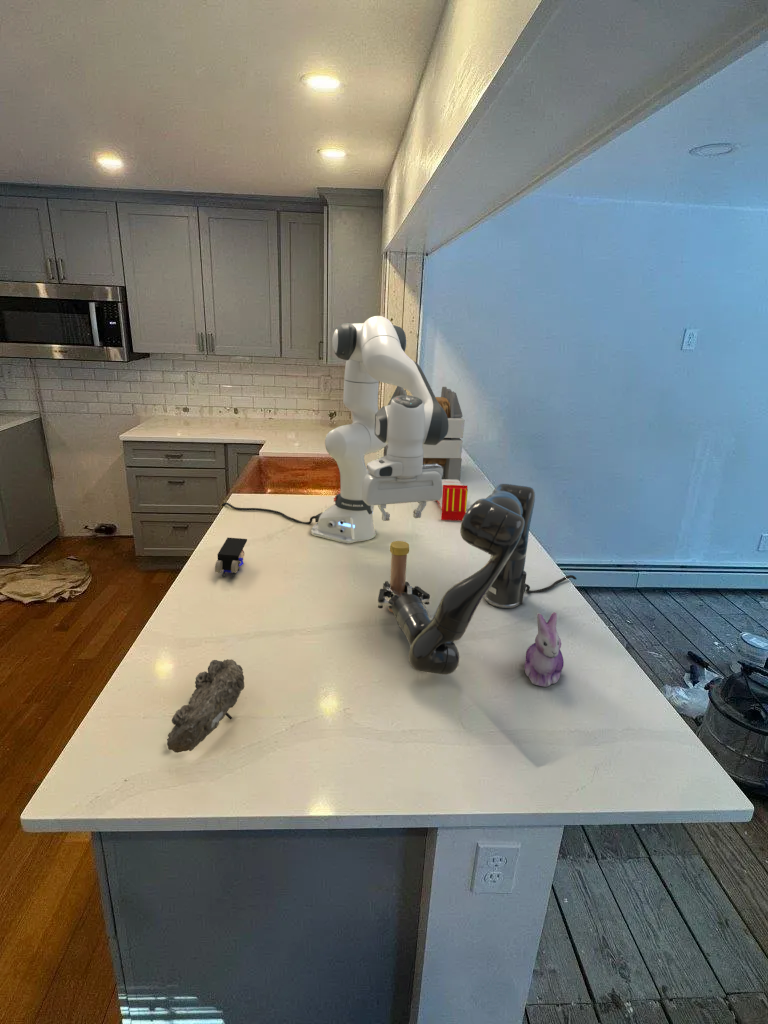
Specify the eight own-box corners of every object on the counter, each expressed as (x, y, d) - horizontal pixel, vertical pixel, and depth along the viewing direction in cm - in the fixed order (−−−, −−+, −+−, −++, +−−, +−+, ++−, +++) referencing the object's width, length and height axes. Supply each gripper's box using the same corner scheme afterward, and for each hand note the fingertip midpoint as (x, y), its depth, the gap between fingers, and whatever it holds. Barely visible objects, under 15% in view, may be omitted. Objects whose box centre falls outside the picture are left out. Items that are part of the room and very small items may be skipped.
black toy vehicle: (238, 584, 162) (249, 557, 175) (236, 562, 158) (247, 536, 172) (215, 584, 161) (227, 556, 175) (212, 561, 158) (225, 535, 171)
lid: (400, 557, 141) (400, 550, 140) (385, 551, 144) (386, 544, 143) (412, 552, 144) (413, 544, 144) (398, 546, 147) (398, 539, 147)
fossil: (192, 660, 117) (244, 628, 112) (224, 691, 120) (276, 661, 115) (142, 746, 98) (202, 712, 93) (182, 779, 101) (242, 748, 96)
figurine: (543, 694, 119) (553, 631, 114) (511, 667, 127) (519, 608, 122) (576, 682, 123) (587, 622, 118) (543, 657, 131) (552, 600, 126)
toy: (459, 475, 239) (472, 486, 210) (457, 506, 242) (469, 522, 212) (430, 474, 239) (439, 485, 209) (429, 505, 241) (437, 521, 212)
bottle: (396, 614, 147) (400, 550, 141) (385, 609, 150) (388, 545, 143) (406, 609, 150) (410, 546, 144) (395, 604, 152) (399, 541, 146)
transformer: (382, 463, 289) (386, 382, 275) (445, 464, 293) (451, 384, 279) (390, 482, 257) (394, 392, 243) (460, 483, 261) (468, 394, 247)
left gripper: (438, 459, 143) (434, 511, 147) (360, 463, 136) (359, 517, 141) (449, 466, 137) (444, 519, 142) (368, 470, 130) (366, 526, 135)
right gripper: (442, 600, 135) (421, 569, 151) (384, 604, 132) (368, 572, 147) (439, 627, 138) (419, 594, 153) (382, 632, 134) (367, 598, 150)
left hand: (401, 518), depth 141 cm, fingers open, 7 cm apart
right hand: (394, 583), depth 150 cm, fingers closed on bottle, 4 cm apart
